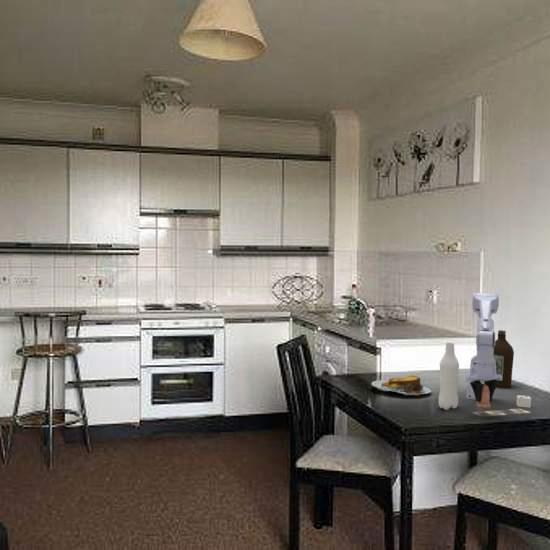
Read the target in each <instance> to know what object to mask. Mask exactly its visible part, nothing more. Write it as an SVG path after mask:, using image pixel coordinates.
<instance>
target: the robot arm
mask: <svg viewBox="0 0 550 550" xmlns="http://www.w3.org/2000/svg"><path fill="white" fill-rule="evenodd" d="M499 296H500V294H499V293H498V292H496V293H495V292H494V293H493V292H492V293H491V292H490V293H489V292H475V291H474V292H473V293H472V301H471V302H472V305H471V306H472V312H473V313H474V314H477V316H478V319H477V331H476V333H475V344H476V355H474V356H472V357H471V358H470V363H469V365H470V366H469V367H470V369H469V375H466V377H465V382H466V396H465V397H466V399H469V400H475V402H481V398H482V390H483V386H484V384H486V385H487V386H488V387H489V390H490V400H489V402H491V401H492V399H493V396H494V393H495V391H496V389H497V386H498V385H499V382H497V381H496V380H499V381H502V375H499V374H496V361H495V359H494V358H493V352H494V347H493V346H492V344H493V345H494V346H495V341H496V331H495V329H494V328H495V322H494V320H493V318H492V315H494V314H497V313H498V309H499V305H500V304H499V303H500V302H499V301H500V297H499Z"/></svg>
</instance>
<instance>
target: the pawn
mask: <svg viewBox="0 0 550 550" xmlns="http://www.w3.org/2000/svg"><path fill="white" fill-rule="evenodd" d="M489 400H490V390H489V387H488V386H487V385H486V384H484V386H483V390H482V398H481V402H478V401H476V406H477V407H479V408H486V409H487V408H490V407H491V402H490V401H489Z"/></svg>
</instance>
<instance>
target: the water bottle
mask: <svg viewBox="0 0 550 550" xmlns="http://www.w3.org/2000/svg"><path fill="white" fill-rule="evenodd" d="M444 350H445V352H444V355H443V356H442V358H441V359H440V362H439V377H438V378H439V379H438V380H439V387H440V388H439V394H438V406H439V407H440V409H442V408H443V409H444V410H445V411H448V410H449V409H451V408H452V409H456V408H457V407H458V405H459V397H458V385H459V380H460V378H459V372H460V371H459V369H460V363H459V360H458V358H457V356H456V354H455V343H453V342H445V349H444Z"/></svg>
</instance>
